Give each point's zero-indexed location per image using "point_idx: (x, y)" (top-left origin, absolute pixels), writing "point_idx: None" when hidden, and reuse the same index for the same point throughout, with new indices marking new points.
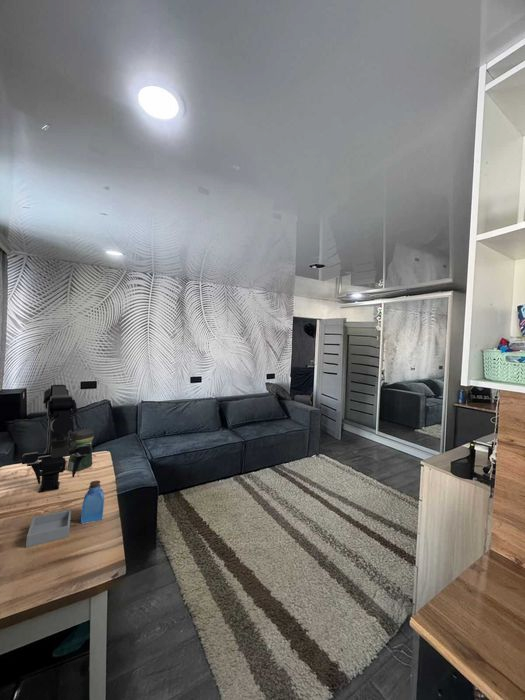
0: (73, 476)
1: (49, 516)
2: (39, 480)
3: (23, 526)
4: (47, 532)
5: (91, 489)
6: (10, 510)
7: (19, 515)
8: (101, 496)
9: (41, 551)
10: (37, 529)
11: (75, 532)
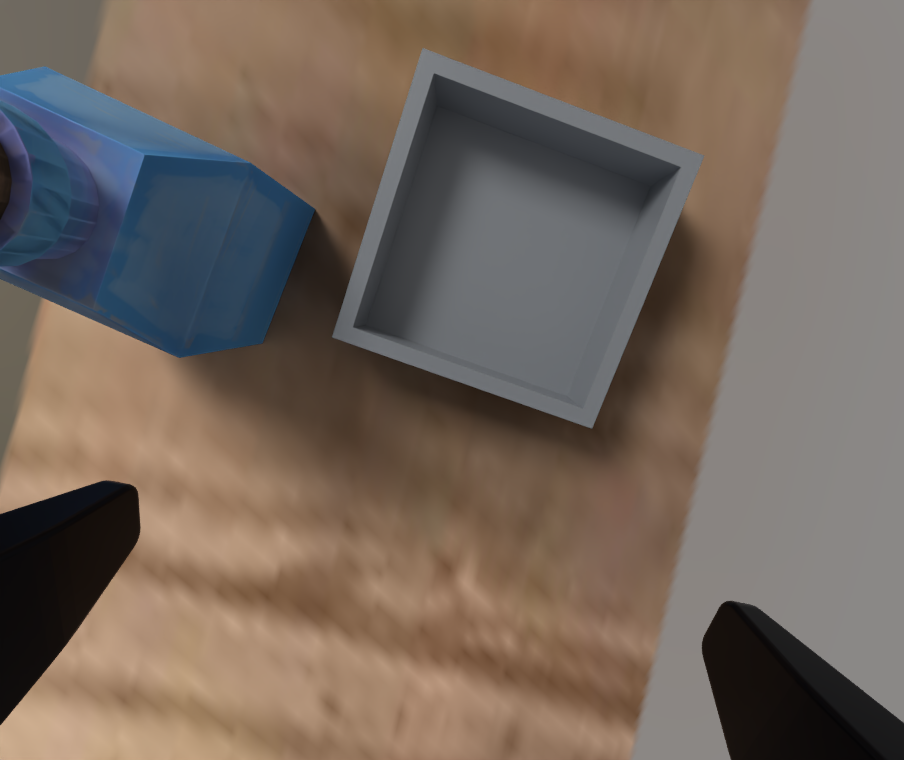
0: (107, 481)
1: (488, 372)
2: (793, 661)
3: (604, 468)
4: (572, 109)
5: (24, 123)
6: (610, 734)
7: (586, 630)
8: (6, 75)
9: (605, 55)
10: (565, 330)
11: (376, 120)
